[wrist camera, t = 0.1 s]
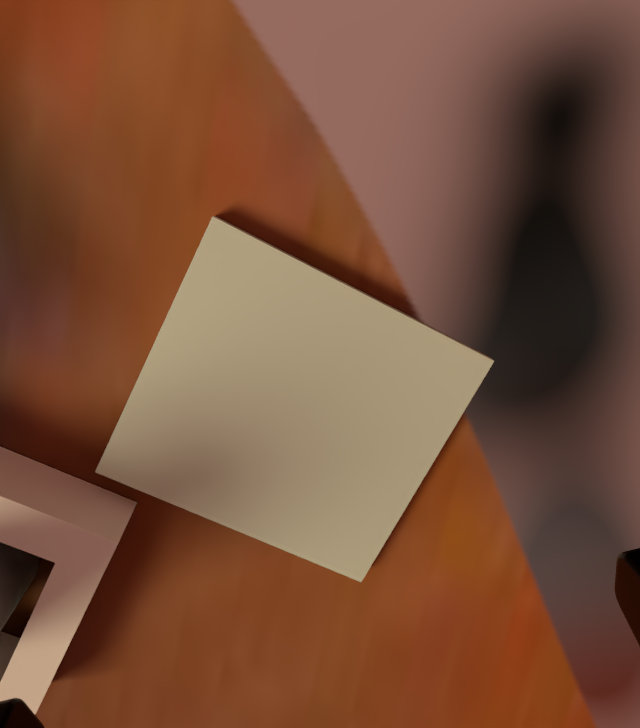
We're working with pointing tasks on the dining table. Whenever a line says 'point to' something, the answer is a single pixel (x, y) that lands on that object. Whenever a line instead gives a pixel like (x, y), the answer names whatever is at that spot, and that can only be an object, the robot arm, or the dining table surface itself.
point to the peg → (14, 578)
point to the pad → (290, 404)
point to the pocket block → (63, 547)
